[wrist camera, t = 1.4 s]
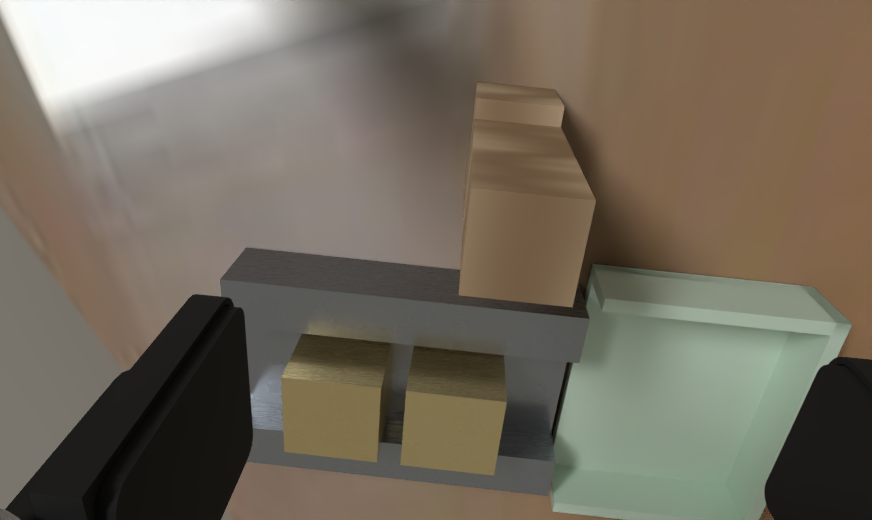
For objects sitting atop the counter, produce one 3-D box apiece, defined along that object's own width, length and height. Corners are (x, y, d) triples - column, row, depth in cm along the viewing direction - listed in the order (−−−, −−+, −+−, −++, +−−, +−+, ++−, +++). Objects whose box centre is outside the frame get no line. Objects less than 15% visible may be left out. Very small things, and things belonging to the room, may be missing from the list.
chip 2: (503, 343, 27) (506, 402, 23) (492, 411, 29) (493, 475, 25) (415, 334, 27) (405, 390, 23) (410, 402, 29) (400, 465, 25)
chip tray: (813, 286, 26) (852, 324, 23) (728, 484, 31) (752, 534, 28) (592, 263, 26) (605, 298, 23) (546, 464, 31) (552, 511, 29)
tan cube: (394, 332, 27) (381, 388, 23) (389, 400, 29) (376, 462, 25) (307, 322, 27) (280, 377, 24) (308, 391, 29) (284, 451, 25)
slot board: (578, 282, 26) (589, 318, 24) (541, 449, 31) (547, 495, 28) (246, 247, 27) (220, 279, 24) (257, 417, 31) (237, 460, 29)
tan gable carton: (554, 89, 23) (602, 172, 14) (536, 196, 25) (567, 329, 16) (476, 82, 23) (474, 159, 14) (464, 189, 25) (456, 317, 16)
